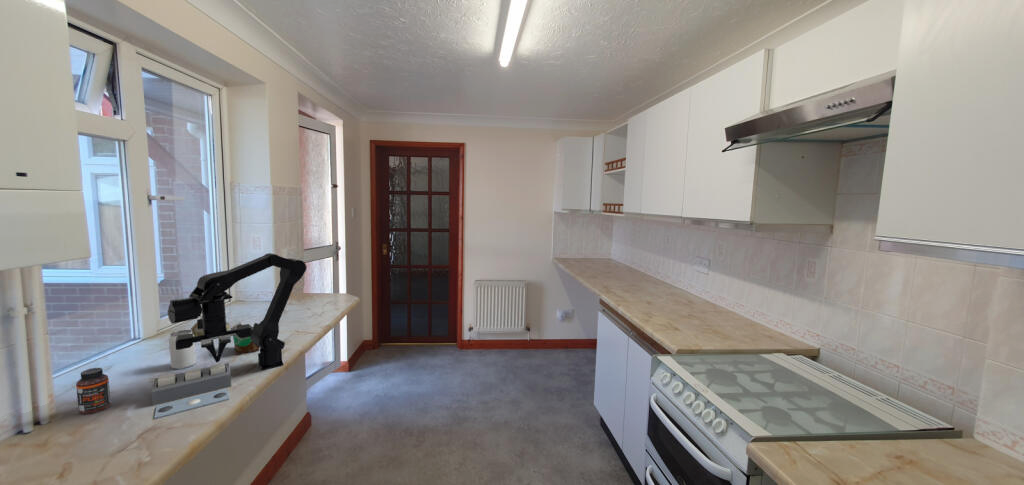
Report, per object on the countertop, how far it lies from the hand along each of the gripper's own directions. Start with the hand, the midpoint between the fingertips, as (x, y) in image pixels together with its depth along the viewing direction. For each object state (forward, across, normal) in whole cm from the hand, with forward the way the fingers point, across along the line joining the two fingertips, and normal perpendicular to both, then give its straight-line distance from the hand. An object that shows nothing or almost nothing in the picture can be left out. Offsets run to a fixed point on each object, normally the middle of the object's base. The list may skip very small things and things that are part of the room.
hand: (217, 361), depth 118 cm
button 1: (+4, +12, 0) cm, 13 cm away
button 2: (+4, 0, 0) cm, 4 cm away
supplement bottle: (+7, +27, -2) cm, 28 cm away
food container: (+8, -8, -24) cm, 26 cm away
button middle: (+4, +6, 0) cm, 7 cm away
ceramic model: (+8, +2, -54) cm, 55 cm away
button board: (+7, +6, 0) cm, 9 cm away
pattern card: (+7, +6, +10) cm, 14 cm away
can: (+7, +9, -22) cm, 25 cm away
